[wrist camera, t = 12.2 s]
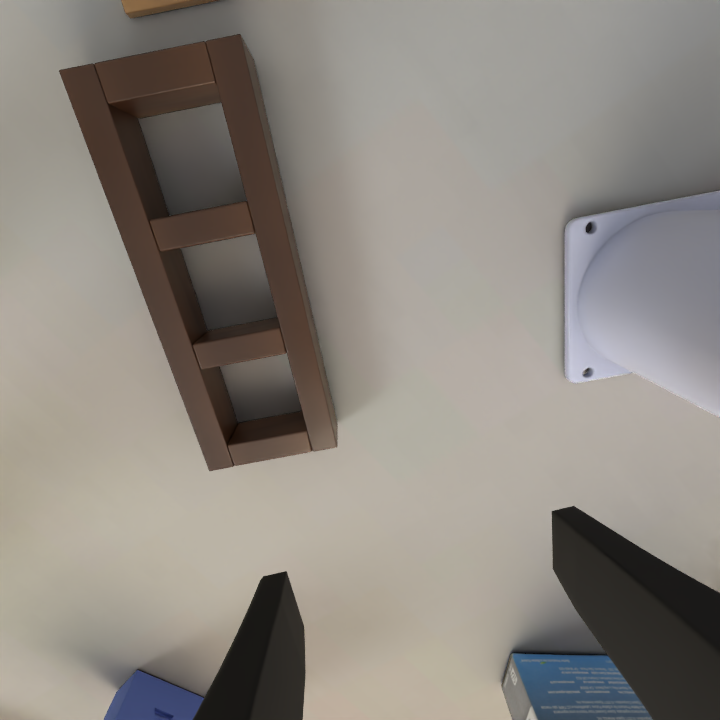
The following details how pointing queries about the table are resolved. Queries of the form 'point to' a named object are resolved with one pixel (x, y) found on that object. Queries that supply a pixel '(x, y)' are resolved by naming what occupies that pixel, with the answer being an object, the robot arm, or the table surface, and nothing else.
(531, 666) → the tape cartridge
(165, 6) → the cork mat
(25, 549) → the table surface
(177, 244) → the pen stand
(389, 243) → the table surface
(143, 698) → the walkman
